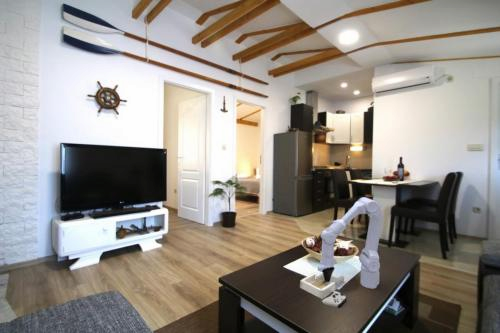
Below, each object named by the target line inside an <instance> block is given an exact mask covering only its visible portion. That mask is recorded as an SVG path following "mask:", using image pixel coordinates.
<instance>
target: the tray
mask: <svg viewBox="0 0 500 333" xmlns="http://www.w3.org/2000/svg"><path fill="white" fill-rule="evenodd" d="M315 279H316V274H315V273H312V274H310V275H307V276H306V277H304V278H302V279H301V280H300V281H299V288H300V289H302V290H303V291H306V292H307V293H309V294H311V295H313V296H315V297H317V298H319V299H320V300H323V299H325V298H327V296H329V295H330V294H332V293H331V292H333V291H336V290H335V283H334V282H332V283H330V284H329V285H327V286H326V287H324V288H322V289H320V288H318V287H316V286H314V285H312V283H314V282H315Z"/></svg>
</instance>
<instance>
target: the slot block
mask: <svg viewBox="0 0 500 333" xmlns="http://www.w3.org/2000/svg"><path fill="white" fill-rule="evenodd" d="M318 279H322V280H324V276H323V273H320V275H318V276H315V281H317V280H318ZM324 281H325V280H324ZM332 282H334V283H335V291H337V290H338V289H339V288H341V287H342V286H344V285H345V284H347V281H345V277H344V276H343V275H340V276H339V277H335V276H333V275H331V279H330V282H327V285H329V284H330V283H332Z"/></svg>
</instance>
